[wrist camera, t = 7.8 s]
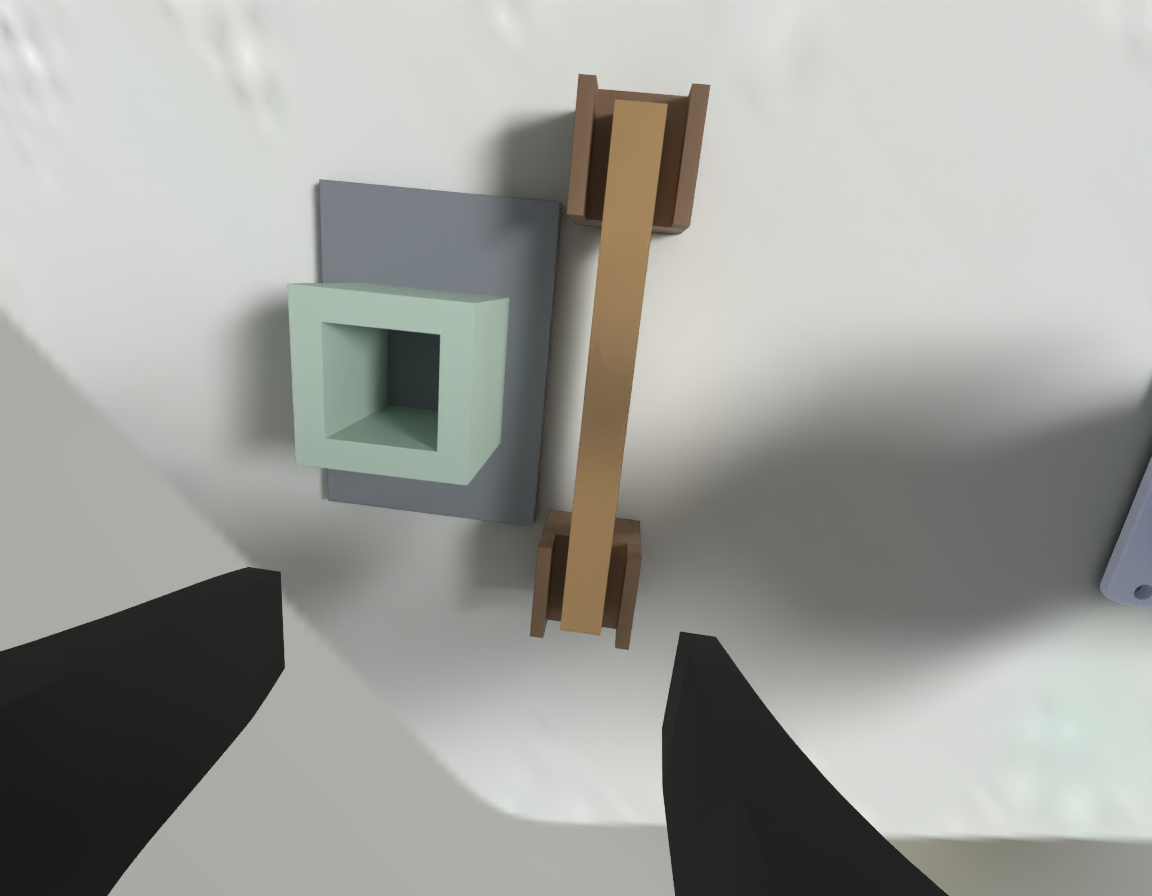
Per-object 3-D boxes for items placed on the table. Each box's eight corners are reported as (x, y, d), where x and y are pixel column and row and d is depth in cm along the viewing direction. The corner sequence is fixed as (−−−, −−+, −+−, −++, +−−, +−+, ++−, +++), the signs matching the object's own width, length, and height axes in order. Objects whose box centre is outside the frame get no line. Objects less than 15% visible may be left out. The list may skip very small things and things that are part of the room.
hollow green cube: (509, 297, 17) (474, 303, 13) (500, 442, 18) (467, 485, 15) (362, 282, 17) (287, 283, 14) (363, 426, 19) (295, 464, 15)
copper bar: (664, 118, 14) (667, 103, 13) (601, 613, 18) (599, 635, 17) (616, 113, 14) (615, 99, 13) (564, 607, 18) (560, 629, 17)
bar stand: (696, 117, 16) (710, 84, 13) (628, 600, 20) (628, 649, 17) (587, 108, 16) (579, 73, 13) (543, 588, 20) (530, 636, 18)
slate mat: (561, 203, 17) (559, 202, 16) (534, 521, 20) (532, 526, 19) (326, 181, 17) (319, 179, 17) (334, 496, 20) (328, 500, 20)
